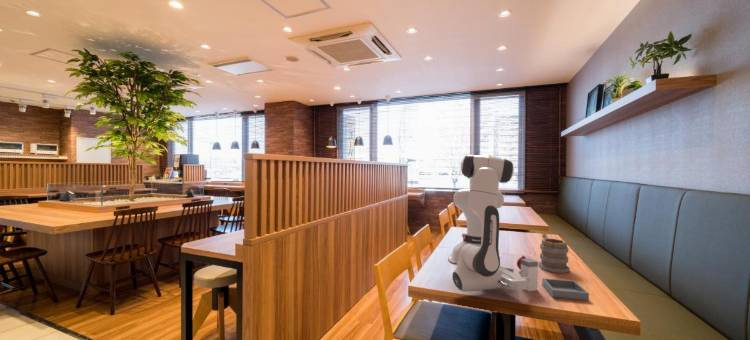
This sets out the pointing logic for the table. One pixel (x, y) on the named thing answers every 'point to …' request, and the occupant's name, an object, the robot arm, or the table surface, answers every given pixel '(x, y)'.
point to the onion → (520, 262)
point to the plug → (530, 273)
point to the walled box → (565, 289)
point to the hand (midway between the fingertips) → (520, 274)
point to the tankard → (553, 255)
